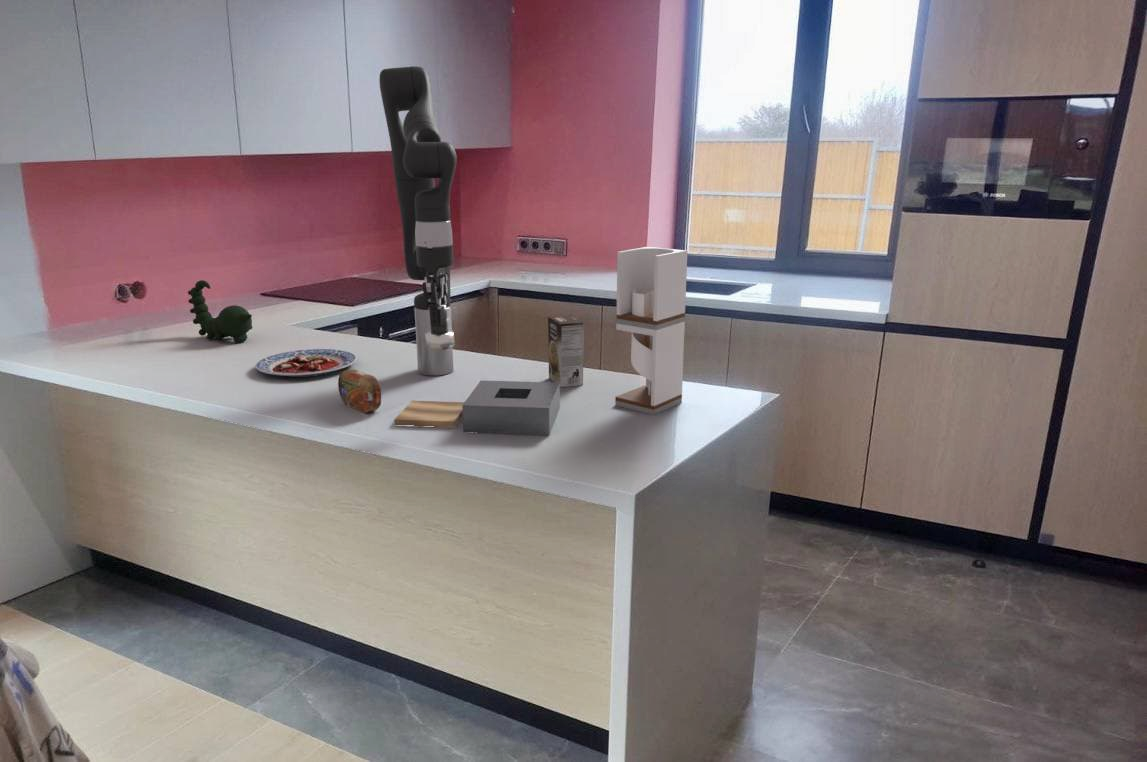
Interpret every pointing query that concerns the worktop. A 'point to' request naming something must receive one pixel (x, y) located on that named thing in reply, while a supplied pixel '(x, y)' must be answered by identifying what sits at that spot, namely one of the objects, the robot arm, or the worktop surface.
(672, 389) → the white shelf stand
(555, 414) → the housing
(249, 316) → the toy figurine
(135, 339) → the worktop surface
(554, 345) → the coffee box
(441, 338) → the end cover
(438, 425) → the oak pad
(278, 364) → the ceramic plate
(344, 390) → the tin
